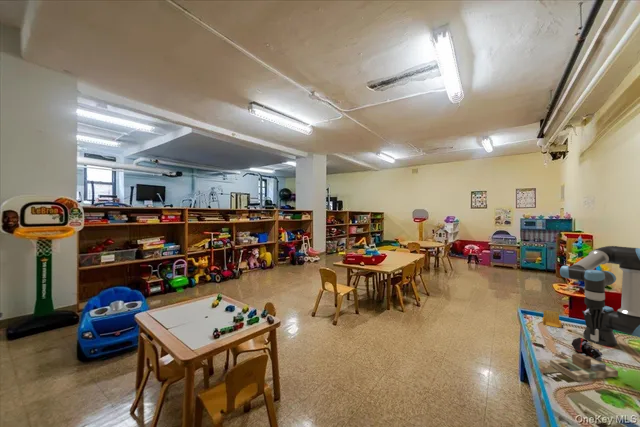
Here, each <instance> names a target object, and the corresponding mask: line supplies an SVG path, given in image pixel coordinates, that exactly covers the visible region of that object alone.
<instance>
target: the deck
mask: <svg viewBox="0 0 640 427" xmlns="http://www.w3.org/2000/svg"><path fill="white" fill-rule="evenodd" d="M582 355H584V356H586V354H582ZM572 358H573V354H571V357H569V358H560V359H558V358H557V359H550V360H549V366H550V367H551V368H554V369H555V370H557V371H558V372H561V373H562V374H563V375H565V376H567V377H568V378H570V379H572V380H573V381H575V382H579V381H580V382H581V381H587V380H590V381H591V380H597V379H605V378H615V377H618V376H619V370H617V369H615V368H613V367H611V366H609V365H607V364H605V363H604V362H602V361H600V360H599V361H598V360H596V359H595V358H593V357H592V358H591V357H589V356H588V358H590V359H591V368H586V369H582V368H580V367H579V366H577V365H575V364H573V363H572Z"/></svg>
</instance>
